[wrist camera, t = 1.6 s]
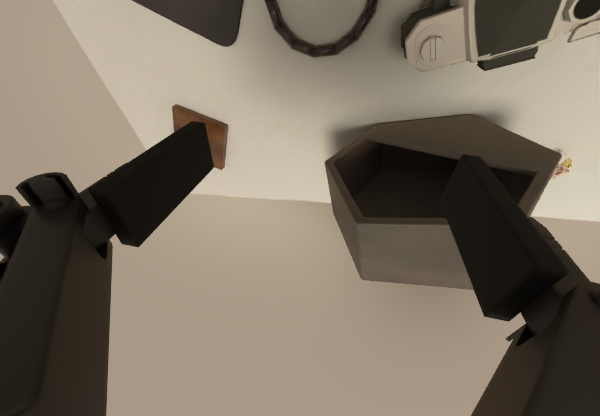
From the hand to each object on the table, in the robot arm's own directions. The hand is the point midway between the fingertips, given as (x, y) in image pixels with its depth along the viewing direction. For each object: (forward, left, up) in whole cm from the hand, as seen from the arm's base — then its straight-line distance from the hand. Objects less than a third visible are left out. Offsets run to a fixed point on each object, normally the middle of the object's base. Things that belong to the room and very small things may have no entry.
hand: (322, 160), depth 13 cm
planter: (+6, +11, -20) cm, 23 cm away
